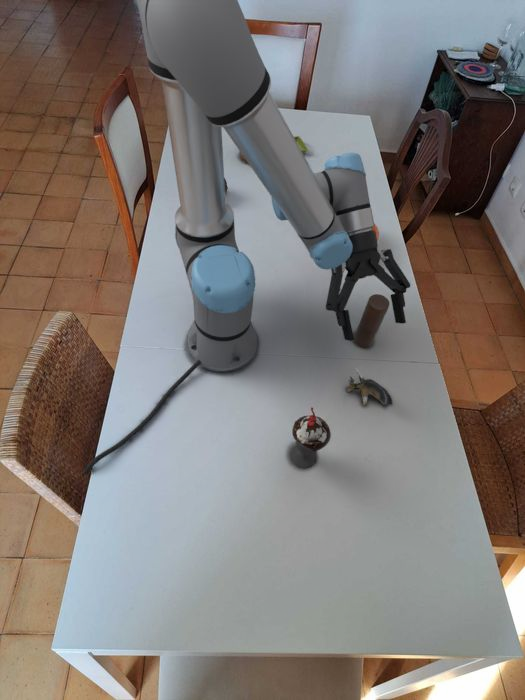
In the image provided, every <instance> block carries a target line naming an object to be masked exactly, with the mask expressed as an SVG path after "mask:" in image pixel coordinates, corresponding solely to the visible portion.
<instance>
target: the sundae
mask: <svg viewBox="0 0 525 700" xmlns="http://www.w3.org/2000/svg"><path fill="white" fill-rule="evenodd" d="M310 411H311V412H312V414H310V415H303V416H301V417H299V418H297V419H296V420H295V421H294V424H293V426H292V431H291V433H292V437H293V439H294V440H295V445H294V446H293V447H292V448H291V449H290V452H289V457H290V461H291V462H292V463H293V464H294V465H295V466H296V467H298V468H302V469H306V468H307V469H308V468H310V467H311V466H313V465H314V463H315V461H316V459H317V455H316V452H317V451H320V450H322V449H323V448H325V447H326V446H327V445H328V444H329V442H330V440H331V437H332V432H331V429H330V427H329V424H328V423H327V422H326V421H325V420H324V419H323V418H321V417H320V416H317V415H315V412H314V407H313V406H311V408H310Z"/></svg>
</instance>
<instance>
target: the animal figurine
mask: <svg viewBox="0 0 525 700" xmlns="http://www.w3.org/2000/svg"><path fill="white" fill-rule="evenodd" d="M355 371H356V373H357V375H358V379H359V382H357V383H355V379H354V378H353V377H352V376H351V375H350V376H349V378H350V379H349V380H348V381H349V382H348V383H349V386H348V389H347V393H351V392H353V391H355V390H357V391H358V390H360V394H361V398H362V406H365V405H366V404H367V402H368V395H370V396H374V397H375V398H376V400H378V401H379V402H380V403H381V404H382V405H383V406H392V405H393V398H392V397H391V395H390V394H389V392H388V391H387V390H386V388H385V387H383V386H382V385H381V384H379V382H377V381H375V380H373V379H371V378H365V377H364V376H363V375H362V374H361V373H360V371H359V370H358V368H355Z"/></svg>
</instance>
